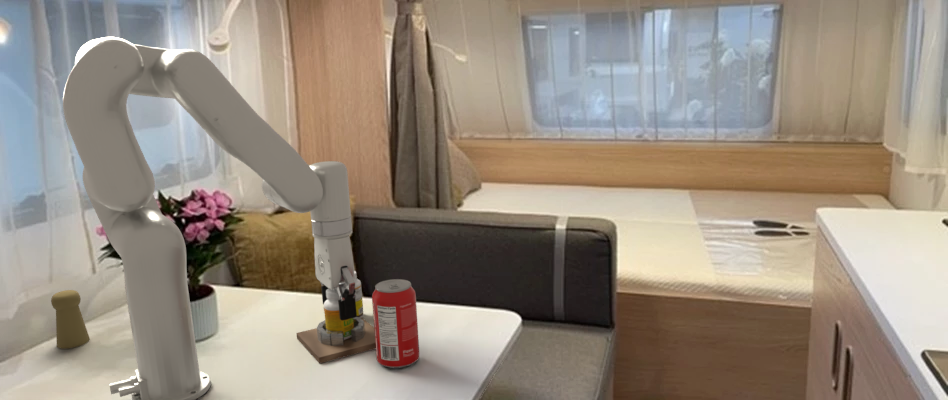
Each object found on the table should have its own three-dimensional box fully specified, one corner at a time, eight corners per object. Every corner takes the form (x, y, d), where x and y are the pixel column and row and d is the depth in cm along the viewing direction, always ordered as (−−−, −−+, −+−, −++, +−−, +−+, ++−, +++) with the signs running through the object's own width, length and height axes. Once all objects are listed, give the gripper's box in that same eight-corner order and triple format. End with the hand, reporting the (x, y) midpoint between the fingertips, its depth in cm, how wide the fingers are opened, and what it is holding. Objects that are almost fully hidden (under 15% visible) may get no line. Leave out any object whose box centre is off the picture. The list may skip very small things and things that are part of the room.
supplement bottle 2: (334, 316, 156) (330, 271, 154) (358, 311, 158) (355, 267, 156) (342, 325, 151) (338, 278, 149) (367, 319, 154) (363, 273, 151)
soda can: (380, 374, 128) (374, 294, 125) (374, 356, 135) (368, 280, 132) (423, 367, 130) (418, 288, 127) (415, 350, 137) (410, 275, 134)
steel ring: (327, 349, 136) (326, 337, 136) (312, 334, 144) (311, 322, 143) (371, 338, 141) (370, 326, 140) (354, 323, 148) (353, 312, 148)
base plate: (319, 363, 133) (318, 357, 133) (296, 338, 145) (296, 333, 145) (388, 345, 140) (388, 339, 140) (362, 322, 152) (361, 317, 152)
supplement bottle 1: (348, 342, 139) (343, 294, 137) (322, 341, 140) (317, 294, 138) (358, 330, 144) (354, 285, 142) (333, 329, 145) (328, 284, 143)
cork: (50, 345, 147) (40, 294, 144) (77, 334, 152) (69, 285, 150) (68, 350, 144) (59, 298, 142) (96, 339, 149) (87, 288, 147)
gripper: (299, 221, 143) (307, 302, 147) (328, 239, 128) (336, 329, 132) (335, 215, 146) (342, 294, 150) (367, 232, 132) (374, 320, 136)
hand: (339, 310), depth 141 cm, fingers open, 9 cm apart
